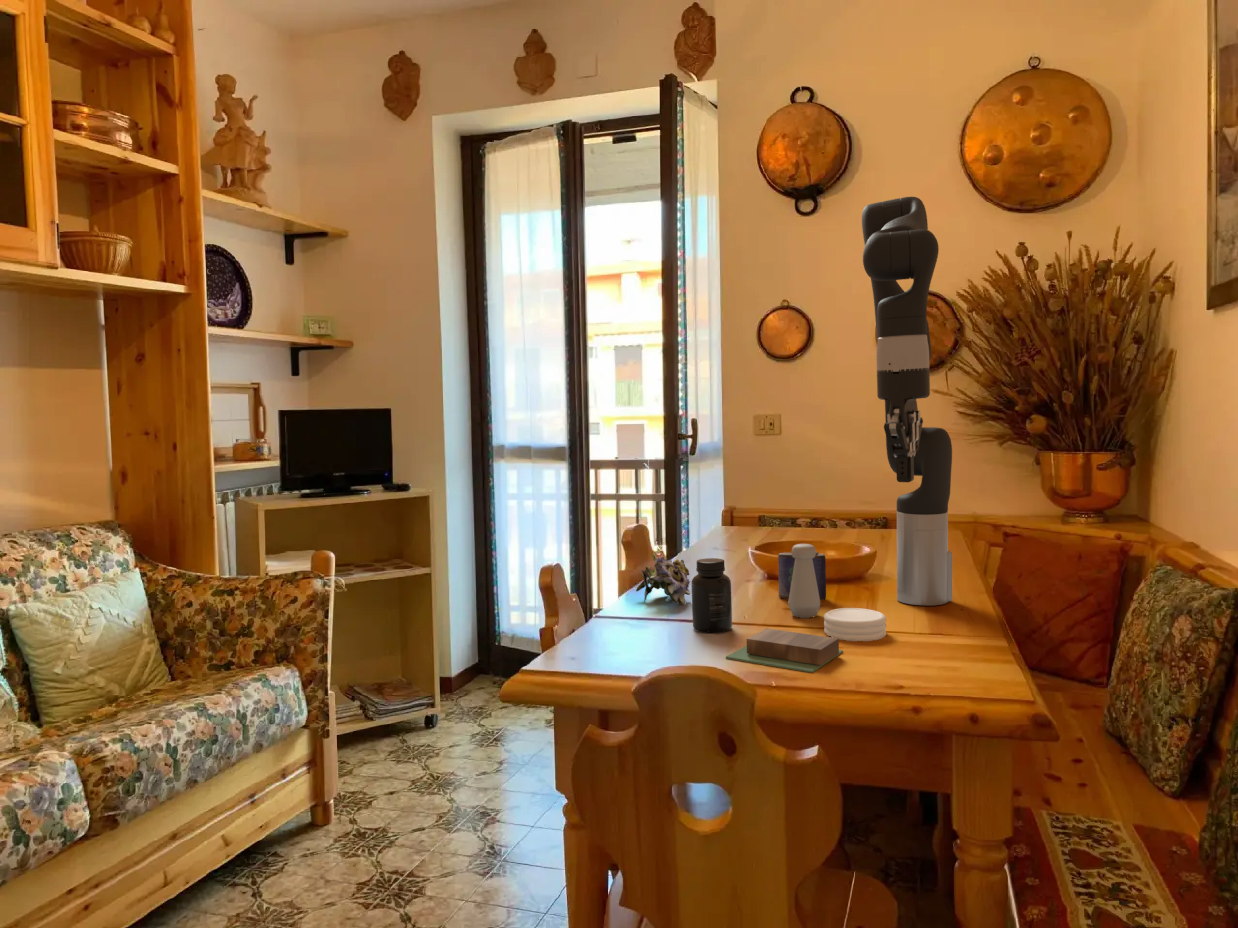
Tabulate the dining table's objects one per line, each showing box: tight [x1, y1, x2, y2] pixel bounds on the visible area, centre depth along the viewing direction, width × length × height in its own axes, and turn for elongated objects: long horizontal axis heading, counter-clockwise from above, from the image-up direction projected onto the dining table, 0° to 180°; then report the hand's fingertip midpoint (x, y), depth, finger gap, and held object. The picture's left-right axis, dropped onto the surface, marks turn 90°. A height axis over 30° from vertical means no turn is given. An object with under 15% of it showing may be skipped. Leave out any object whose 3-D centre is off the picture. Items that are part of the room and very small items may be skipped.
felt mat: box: [725, 645, 844, 674], centre depth 133 cm, size 14×12×1 cm
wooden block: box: [746, 628, 840, 665], centre depth 133 cm, size 2×7×12 cm
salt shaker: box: [787, 543, 821, 619], centre depth 157 cm, size 6×6×13 cm
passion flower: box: [635, 552, 692, 606], centre depth 171 cm, size 11×11×12 cm
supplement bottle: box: [691, 557, 733, 634], centre depth 150 cm, size 7×7×12 cm
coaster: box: [823, 607, 887, 642], centre depth 145 cm, size 10×10×4 cm
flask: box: [777, 551, 827, 601], centre depth 171 cm, size 9×3×11 cm, turn 71°
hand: (905, 481), depth 132 cm, fingers closed
